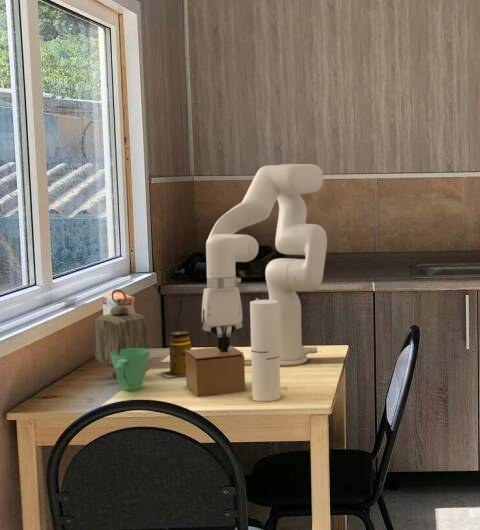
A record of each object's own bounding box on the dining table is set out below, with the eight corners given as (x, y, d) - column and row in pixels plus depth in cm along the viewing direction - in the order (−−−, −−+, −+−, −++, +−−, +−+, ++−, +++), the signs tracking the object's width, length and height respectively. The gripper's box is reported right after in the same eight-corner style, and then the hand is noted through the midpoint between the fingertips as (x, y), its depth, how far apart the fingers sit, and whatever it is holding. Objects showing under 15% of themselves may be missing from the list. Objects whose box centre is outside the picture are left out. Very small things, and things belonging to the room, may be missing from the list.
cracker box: (138, 365, 266) (135, 296, 264) (117, 368, 263) (115, 298, 260) (123, 357, 278) (121, 291, 275) (104, 359, 274) (101, 293, 272)
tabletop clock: (149, 376, 252) (145, 289, 249) (121, 383, 245) (117, 293, 242) (120, 369, 261) (117, 285, 258) (93, 375, 254) (88, 289, 251)
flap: (231, 346, 245) (231, 345, 245) (243, 354, 235) (243, 353, 235) (209, 349, 242) (208, 347, 242) (220, 357, 232) (220, 356, 232)
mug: (118, 384, 244) (117, 348, 243) (154, 383, 244) (153, 347, 243) (101, 398, 229) (100, 360, 228) (140, 397, 229) (138, 359, 228)
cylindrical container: (253, 394, 232) (251, 299, 229) (281, 393, 232) (278, 299, 230) (251, 401, 225) (248, 304, 222) (279, 400, 225) (277, 303, 222)
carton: (232, 381, 246) (231, 345, 245) (245, 390, 236) (244, 353, 235) (186, 386, 240) (185, 350, 239) (197, 396, 230) (196, 358, 229)
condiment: (196, 374, 255) (195, 333, 253) (167, 378, 250) (166, 336, 249) (187, 369, 261) (186, 329, 259) (159, 373, 256) (157, 332, 255)
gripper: (244, 280, 243) (246, 345, 245) (190, 283, 236) (192, 351, 238) (252, 283, 236) (254, 350, 238) (197, 286, 229) (199, 356, 231)
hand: (223, 350), depth 238 cm, fingers closed
